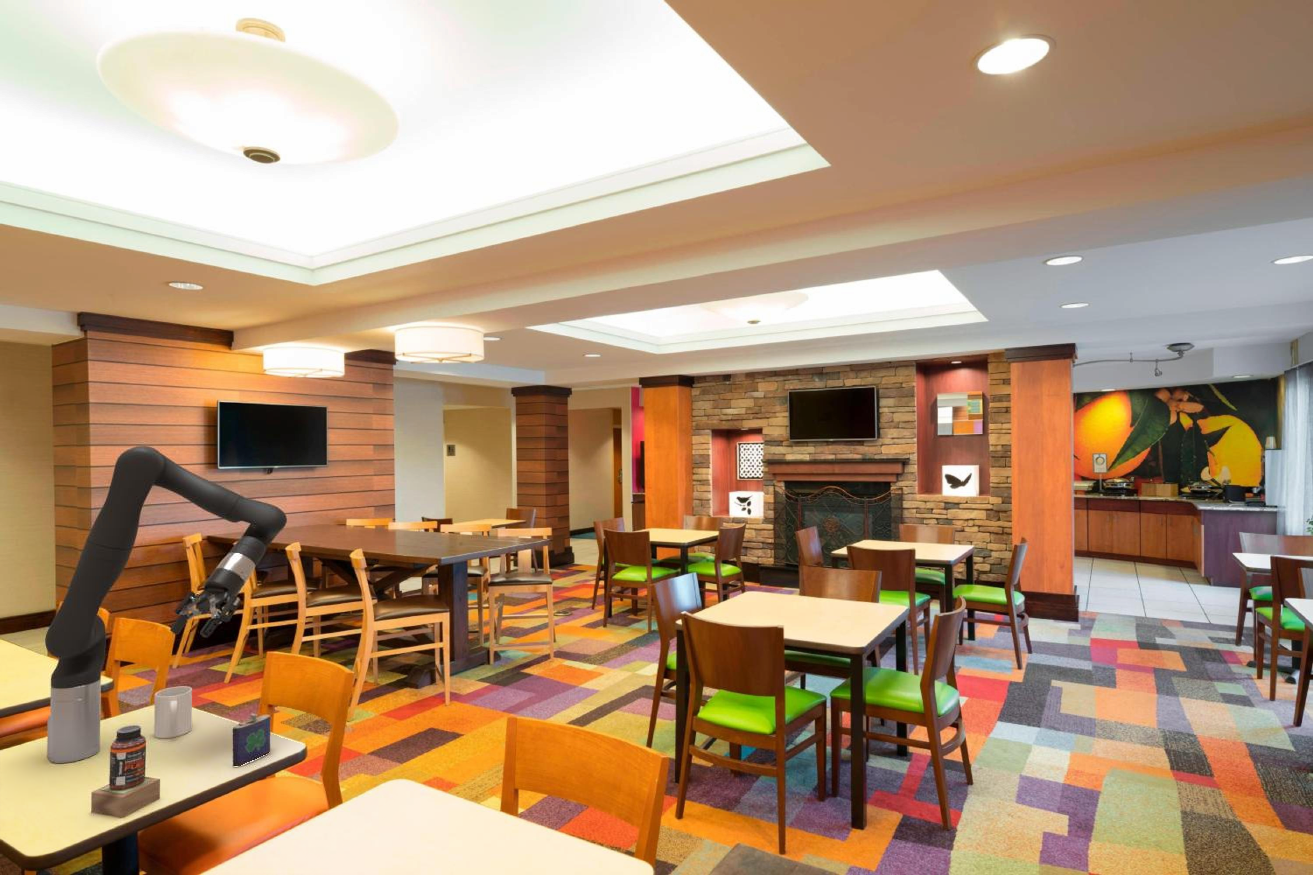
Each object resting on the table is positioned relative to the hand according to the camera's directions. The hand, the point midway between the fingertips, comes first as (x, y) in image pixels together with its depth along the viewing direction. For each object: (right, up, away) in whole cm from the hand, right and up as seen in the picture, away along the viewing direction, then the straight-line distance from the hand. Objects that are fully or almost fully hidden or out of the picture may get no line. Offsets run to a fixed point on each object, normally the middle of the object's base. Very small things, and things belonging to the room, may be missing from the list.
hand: (188, 634), depth 163 cm
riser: (-1, -30, -18) cm, 35 cm away
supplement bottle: (-1, -26, -18) cm, 32 cm away
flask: (+13, -31, +3) cm, 33 cm away
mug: (-15, -30, +16) cm, 37 cm away
